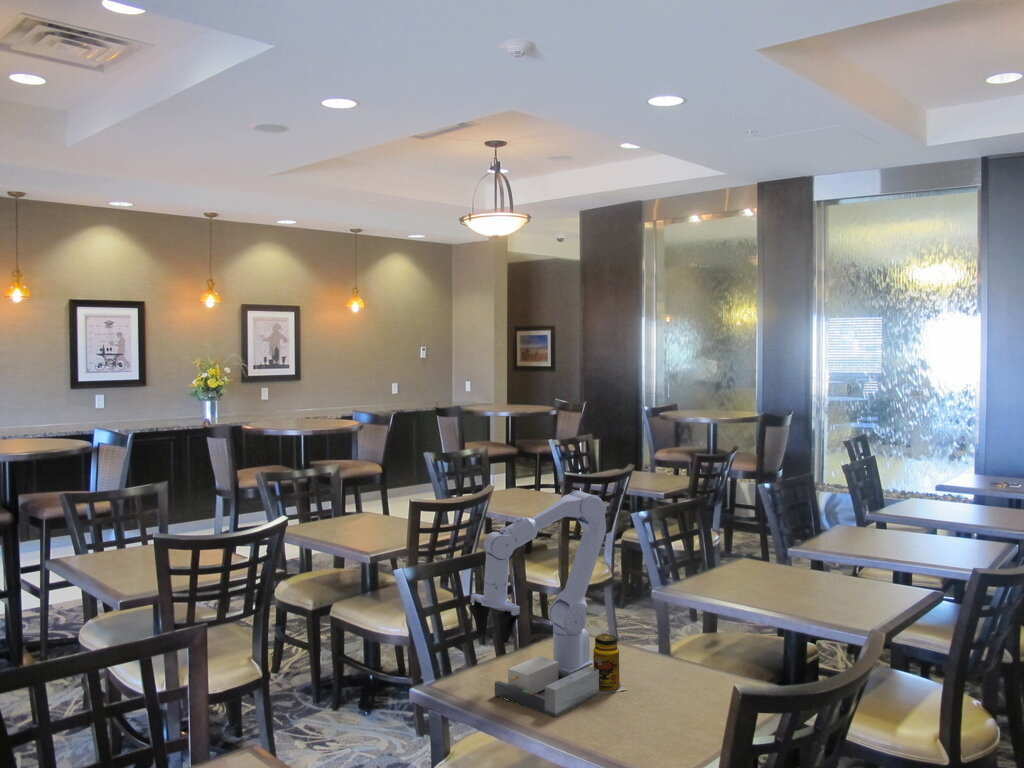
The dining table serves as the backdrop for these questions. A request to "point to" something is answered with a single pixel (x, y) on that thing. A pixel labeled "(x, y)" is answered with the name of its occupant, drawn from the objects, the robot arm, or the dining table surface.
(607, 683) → the condiment
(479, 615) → the robot arm
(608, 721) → the dining table surface
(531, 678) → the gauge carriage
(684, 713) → the dining table surface
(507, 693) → the gauge frame
